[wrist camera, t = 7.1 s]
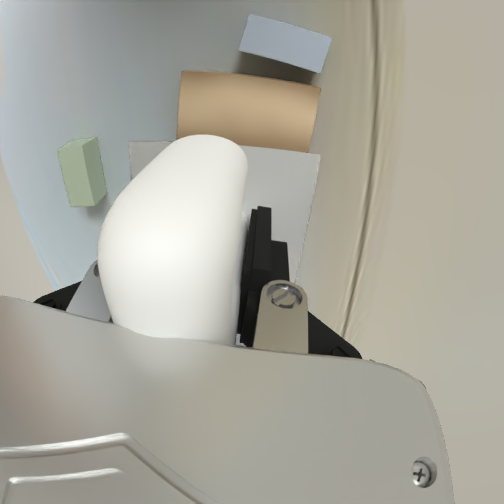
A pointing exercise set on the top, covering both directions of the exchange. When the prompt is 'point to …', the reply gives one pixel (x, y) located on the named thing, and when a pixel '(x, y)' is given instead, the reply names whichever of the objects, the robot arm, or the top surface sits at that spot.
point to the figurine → (197, 232)
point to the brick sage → (82, 172)
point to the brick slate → (285, 43)
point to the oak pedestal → (247, 109)
